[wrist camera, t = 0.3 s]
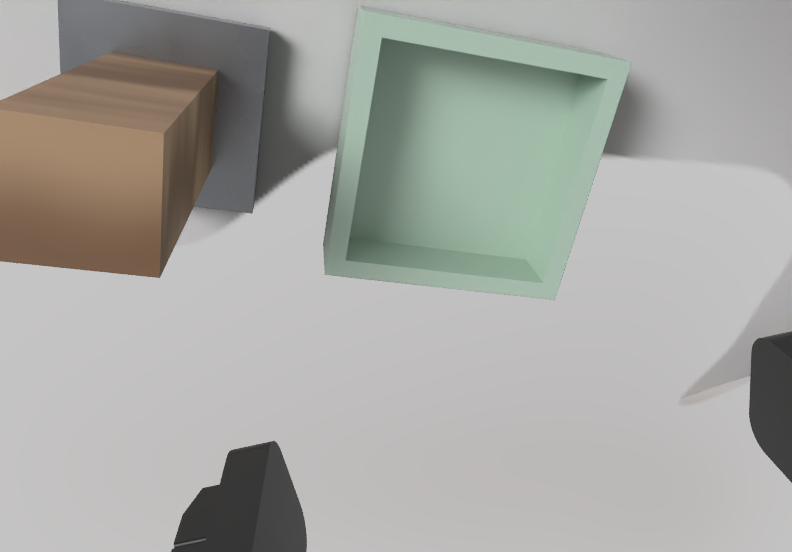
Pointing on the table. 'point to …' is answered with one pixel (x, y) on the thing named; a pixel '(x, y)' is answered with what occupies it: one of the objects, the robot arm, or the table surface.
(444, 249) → the tray
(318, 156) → the table surface
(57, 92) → the block
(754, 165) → the table surface
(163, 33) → the mount plate
